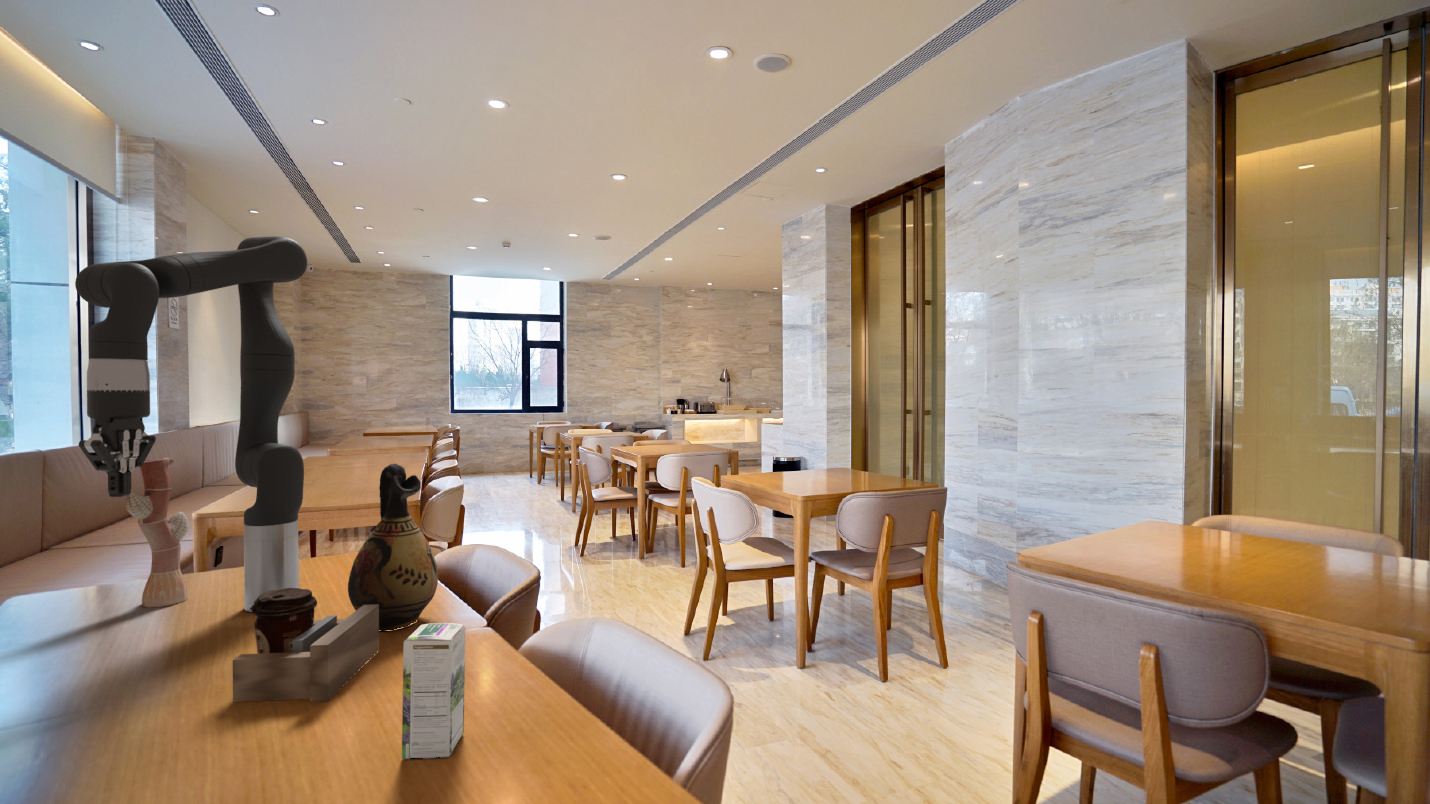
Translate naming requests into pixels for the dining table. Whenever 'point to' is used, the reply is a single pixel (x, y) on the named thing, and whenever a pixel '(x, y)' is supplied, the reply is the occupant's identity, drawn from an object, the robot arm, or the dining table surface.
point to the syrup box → (433, 690)
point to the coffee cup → (282, 618)
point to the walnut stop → (310, 663)
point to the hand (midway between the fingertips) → (120, 495)
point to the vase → (160, 535)
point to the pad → (313, 634)
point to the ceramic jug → (394, 558)
